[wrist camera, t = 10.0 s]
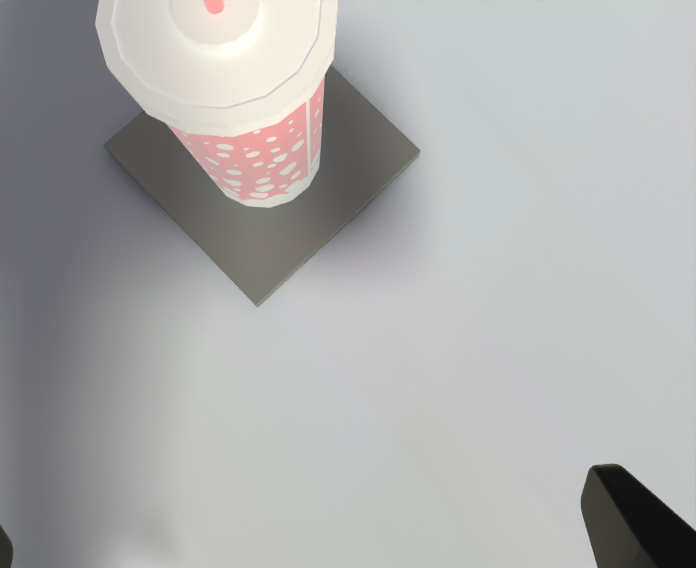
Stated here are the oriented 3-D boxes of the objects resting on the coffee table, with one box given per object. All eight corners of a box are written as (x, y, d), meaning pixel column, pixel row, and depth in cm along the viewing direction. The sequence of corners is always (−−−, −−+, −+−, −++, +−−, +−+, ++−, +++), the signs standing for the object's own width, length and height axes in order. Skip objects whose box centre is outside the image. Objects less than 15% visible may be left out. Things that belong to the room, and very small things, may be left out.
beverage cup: (253, 54, 25) (139, -377, 11) (370, 140, 24) (408, -202, 10) (155, 165, 24) (-106, -153, 10) (274, 257, 23) (173, 55, 9)
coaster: (257, 307, 23) (255, 305, 23) (108, 151, 24) (103, 145, 24) (418, 156, 24) (420, 150, 24) (269, 14, 26) (267, 5, 25)
